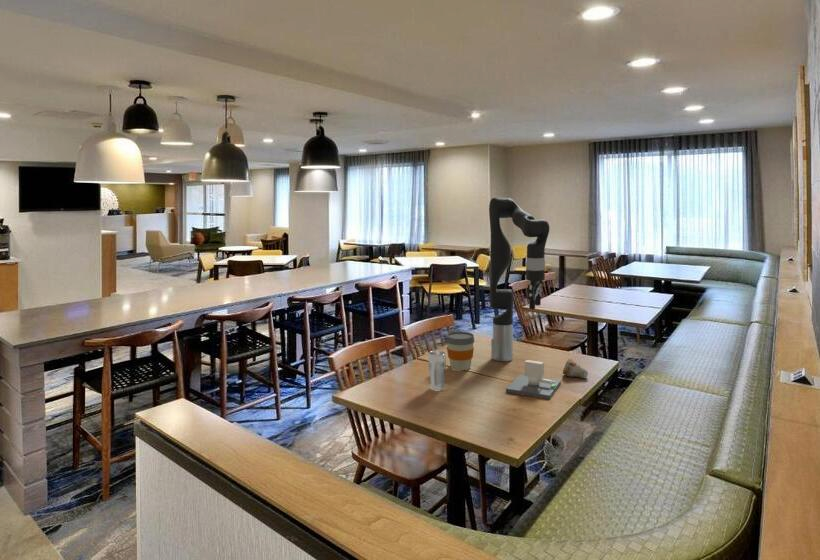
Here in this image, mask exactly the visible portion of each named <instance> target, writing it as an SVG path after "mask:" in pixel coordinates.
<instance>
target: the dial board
mask: <svg viewBox="0 0 820 560" xmlns="http://www.w3.org/2000/svg"><path fill="white" fill-rule="evenodd" d="M542 379H548V380H551V384H548V383H541V382H540V384H539V385H537V386H533V385H529V384H528V376H525V374H519V375H518V376H517V377H516V378H515V379H514V380H513V381H512V382H511V383H510V384H508V386H507V387H505V393H508V392H510V393H509V394H514V393H516V394H515V395H520V394H523V395H522V396H526V395H529V396H528V397H532V396H535V397H534V398H539V397H542V398H541V399H545V398H547V399H546V400H550V399H551V398H552V397H553V395H554V394H555V393H556V392H557V390H558V389H559V387H560V386H561V384H562V383H561V380H560V379H555V378H549V377H547V378H546V377H543V378H542ZM554 392H555V393H554Z"/></svg>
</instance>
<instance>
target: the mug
mask: <svg viewBox="0 0 820 560" xmlns="http://www.w3.org/2000/svg"><path fill="white" fill-rule="evenodd" d="M562 374H563V375H564V376H567V377H573V378H574V377H578V378H581V379H583V378H584V379H586V378H587V377H588V375H589V371H588V369H586V368H583V367H582V366H580V364H579V363H578V362H577V361H575V360H573V359H568V360H567V361H566V362H565V364H564V368H563V370H562Z"/></svg>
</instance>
